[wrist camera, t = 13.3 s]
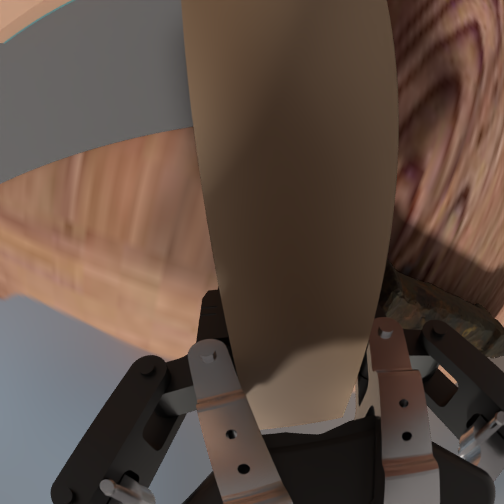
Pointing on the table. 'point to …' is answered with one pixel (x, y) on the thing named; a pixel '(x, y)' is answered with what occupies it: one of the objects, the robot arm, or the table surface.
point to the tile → (24, 14)
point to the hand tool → (439, 311)
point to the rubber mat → (91, 80)
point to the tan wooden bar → (295, 188)
